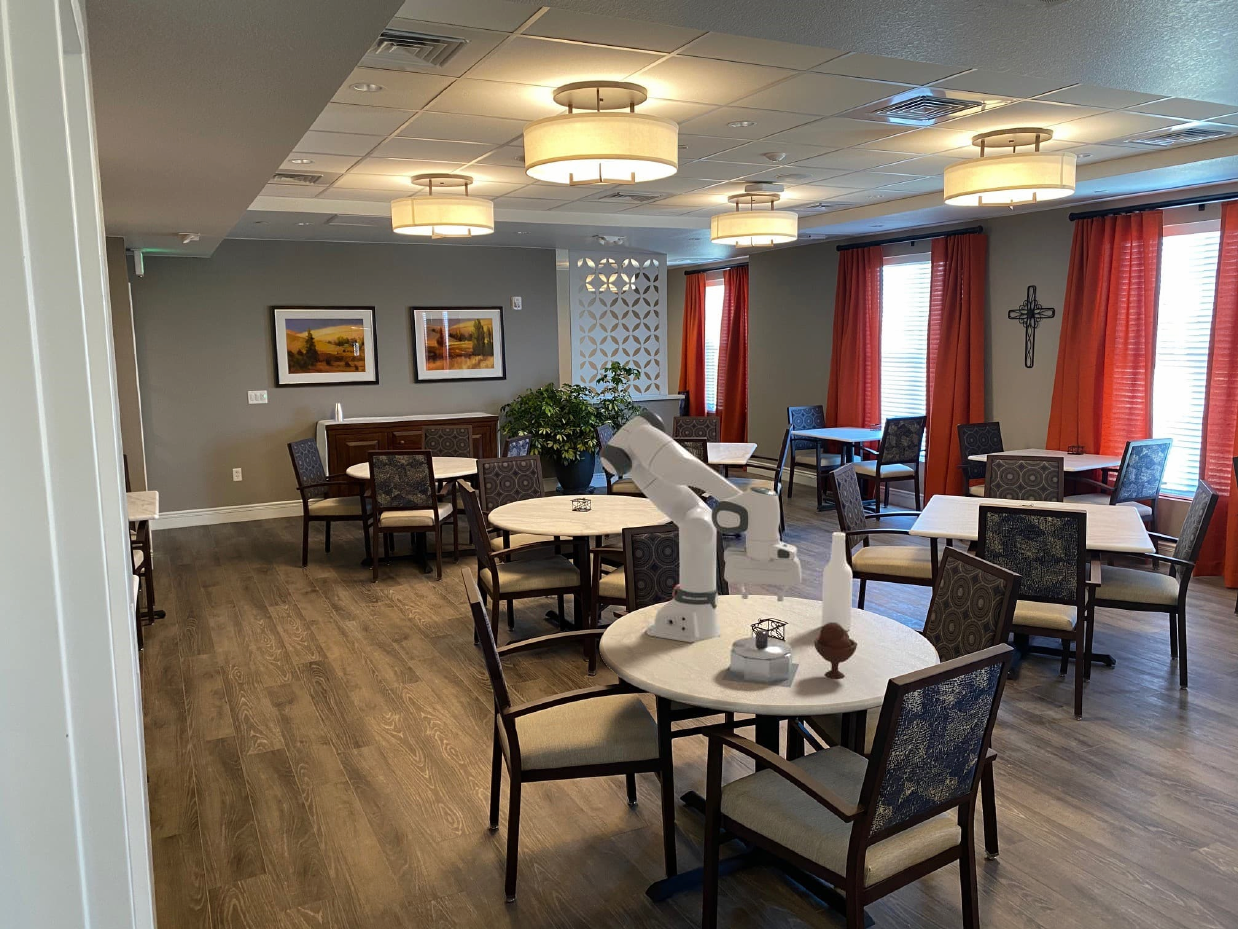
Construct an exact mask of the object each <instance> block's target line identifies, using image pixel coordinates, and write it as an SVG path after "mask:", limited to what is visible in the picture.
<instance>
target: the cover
mask: <svg viewBox="0 0 1238 929" xmlns="http://www.w3.org/2000/svg"><path fill="white" fill-rule="evenodd" d="M731 646H732V647H731V649H730V662H729V663H730V664H729V666H730V673H732V674H734V675H736V676H737V677H739V678H741V679H743V680H746V681H755V682H764V683H771V682H776V681H781V680H786V679H789V677H790V674H791V672H792V663H793V648H792V646H791V645H790V644H789V643H788V642H786V641H784V640H782V639H781V640H780V639H777V638H774V637H773V638H771V637H769V632H768V631H767V630H764V629H758V630H755V636H753V637H752V636H751V637H750V636H749V637H744V638H740V639H737V640H735V641H734V642H733V643H732V644H731Z"/></svg>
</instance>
